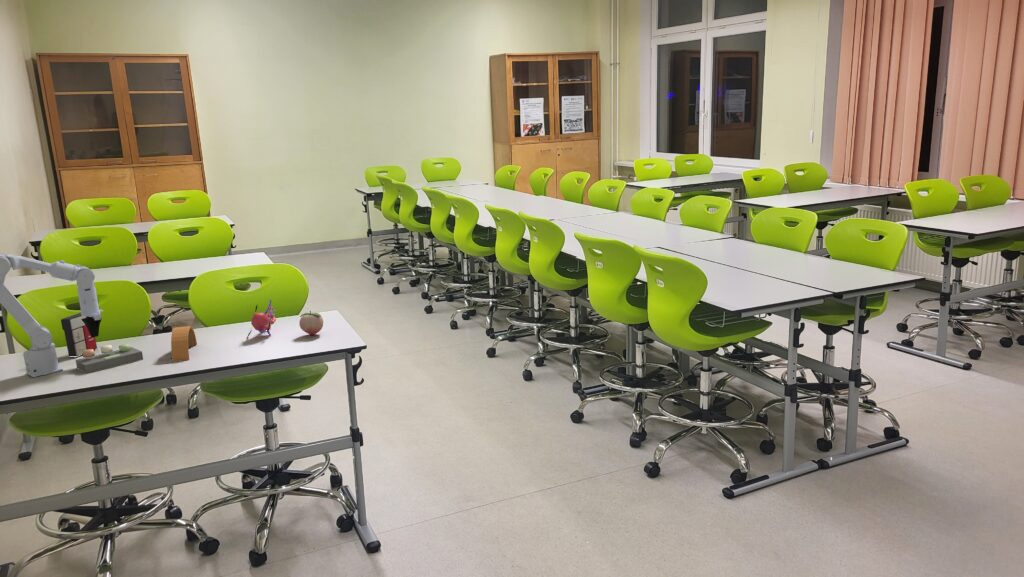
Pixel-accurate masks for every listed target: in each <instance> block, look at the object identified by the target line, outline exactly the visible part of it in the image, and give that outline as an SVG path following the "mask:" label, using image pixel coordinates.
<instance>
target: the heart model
mask: <svg viewBox="0 0 1024 577" xmlns="http://www.w3.org/2000/svg"><path fill="white" fill-rule="evenodd" d="M272 302H273V301H272V299H269V304H268V307H267V308H266V311H264V312H257V309H258V304H256V306H255V311H254V312H255V313H254V314H253V315H252V317H251V320H250V323H251V326H252V328H254V330H256V331H258V332H259V333H260V334H263V333H264V332H266V333H267V335H268V336H270V335H271V336H272V334H271V333H270V331H271V328H272V325H274V324H275V323H276V321H277V318H276V317H275V313H272V312H274V311H275V312H276V311H277V310H275V309H274V308H273V305H272ZM252 328H250V331H249V332H248V335H247V336H246V339H248V338H249V336H250V335H251V333H252V331H253V330H252ZM266 330H267V331H266Z"/></svg>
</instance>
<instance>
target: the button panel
mask: <svg viewBox="0 0 1024 577" xmlns="http://www.w3.org/2000/svg"><path fill="white" fill-rule="evenodd" d="M142 360H144V355H143V351H142V350H139V349H137V348H134V347H132V346H130V350H129V351H126V352H120V351H119V349H116V350H113V351H112V352H109V353H101V354H96V355H94V356H92V357H87V358H84V357H82V358H79V359H75V364H76V368H77V369H78V368H79V369H78V370H80V371H81V370H82V371H81V372H84V373H85V374H90V373H94V372H98V371H101V370H105V369H109V368H113V367H117V366H121V365H126V364H129V363H133V362H137V361H142Z"/></svg>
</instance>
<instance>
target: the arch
mask: <svg viewBox="0 0 1024 577" xmlns="http://www.w3.org/2000/svg"><path fill="white" fill-rule="evenodd" d="M170 339H171V341H170V347H171V348H170V349H171V350H170V351H171V359H172V362H174V363H175V362H181V361H190V351H189V347H188V346H191V347H197V346H198V342H197V337H196V333H195V330H194V328H193V325H188V326H177V327H173V328H172V331H171V337H170ZM196 345H197V346H196Z"/></svg>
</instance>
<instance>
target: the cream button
mask: <svg viewBox="0 0 1024 577" xmlns="http://www.w3.org/2000/svg"><path fill="white" fill-rule="evenodd" d="M112 351H114V350H113V346H112V345H111V344H105V345H102V346H100V352H101V354H103V353H109V352H112Z"/></svg>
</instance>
